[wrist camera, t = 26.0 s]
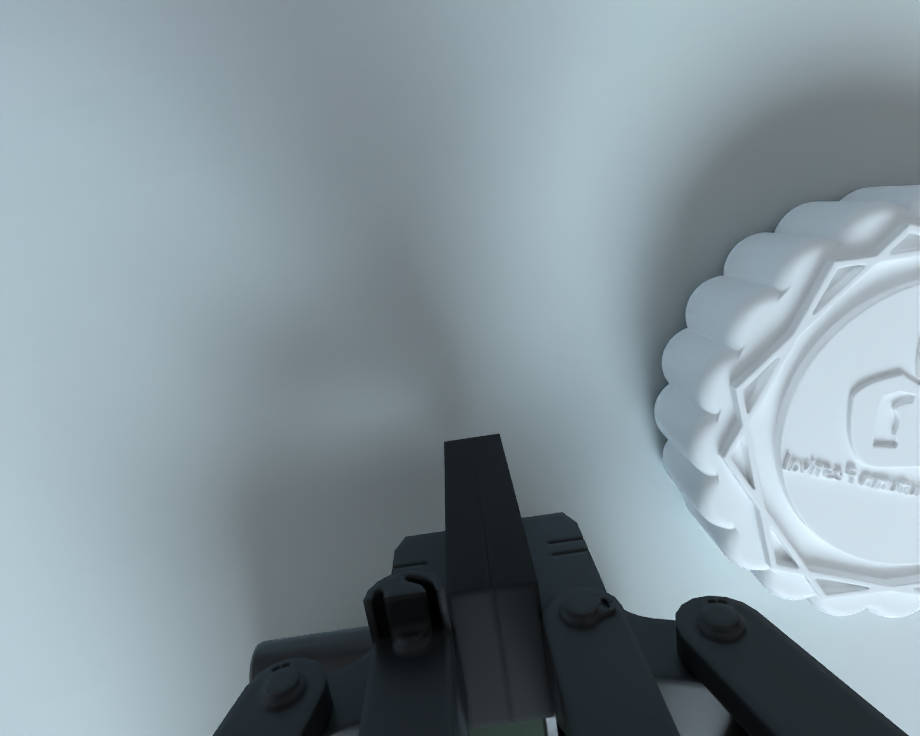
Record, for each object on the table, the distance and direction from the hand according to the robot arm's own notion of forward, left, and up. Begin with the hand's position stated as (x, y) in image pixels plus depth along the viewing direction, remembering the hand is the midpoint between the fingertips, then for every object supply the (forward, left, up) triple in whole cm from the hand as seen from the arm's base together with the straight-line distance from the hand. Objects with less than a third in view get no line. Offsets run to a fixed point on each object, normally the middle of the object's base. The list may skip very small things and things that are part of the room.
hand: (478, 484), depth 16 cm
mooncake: (0, +12, -3) cm, 12 cm away
